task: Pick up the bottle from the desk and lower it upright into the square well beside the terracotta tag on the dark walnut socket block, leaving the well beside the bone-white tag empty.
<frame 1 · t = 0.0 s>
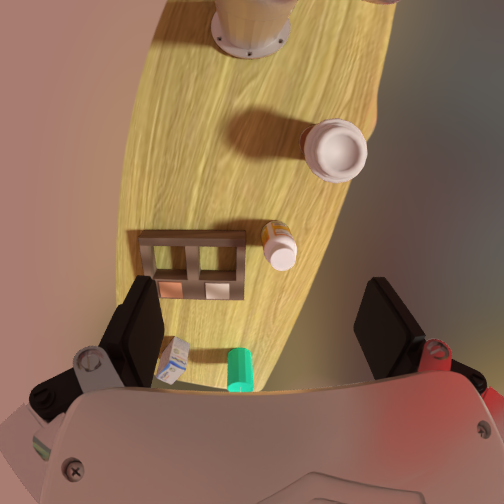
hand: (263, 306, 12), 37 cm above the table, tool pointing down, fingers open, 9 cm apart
medicine box: (175, 347, 64), on the table
coffee cup: (317, 143, 43), on the table
supplement bottle: (275, 233, 51), on the table
socket block: (194, 261, 52), on the table
candle: (239, 354, 66), on the table
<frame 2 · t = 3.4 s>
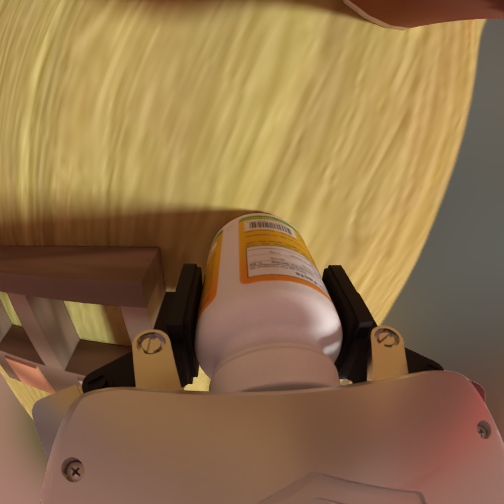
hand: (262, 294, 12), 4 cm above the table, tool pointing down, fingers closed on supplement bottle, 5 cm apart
supplement bottle: (257, 254, 16), on the table, touching gripper
socket block: (62, 319, 17), on the table
when the fingers open (5 cm above the table, at t = 9.4 s): supplement bottle drops 1 cm, resting in socket block.
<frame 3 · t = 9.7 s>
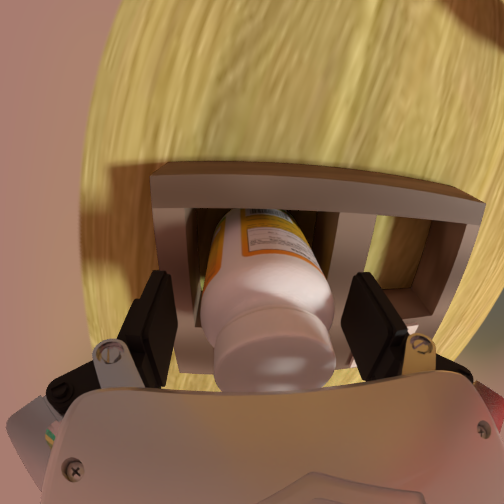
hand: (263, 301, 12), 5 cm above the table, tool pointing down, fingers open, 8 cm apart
supplement bottle: (257, 241, 17), resting in socket block
socket block: (323, 266, 18), on the table
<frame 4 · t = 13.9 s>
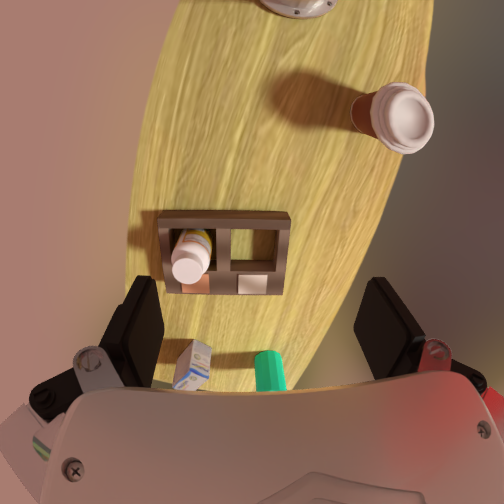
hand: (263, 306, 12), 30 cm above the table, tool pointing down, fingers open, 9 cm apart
medicine box: (194, 351, 56), on the table
coffee cup: (368, 114, 35), on the table
supplement bottle: (196, 238, 43), resting in socket block
socket block: (224, 248, 44), on the table
candle: (267, 358, 58), on the table
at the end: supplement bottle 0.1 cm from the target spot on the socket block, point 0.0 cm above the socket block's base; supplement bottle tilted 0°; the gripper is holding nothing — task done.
